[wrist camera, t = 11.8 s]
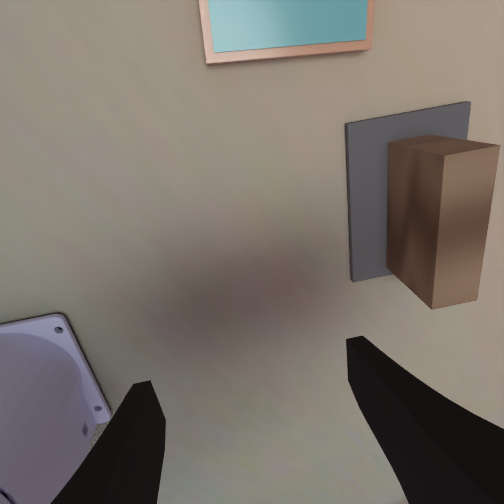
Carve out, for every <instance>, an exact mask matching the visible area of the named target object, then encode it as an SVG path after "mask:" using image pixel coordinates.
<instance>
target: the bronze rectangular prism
mask: <svg viewBox="0 0 504 504" xmlns="http://www.w3.org/2000/svg"><path fill="white" fill-rule="evenodd" d="M499 150H500V145H495V144H489V143H482V142H476V141H470V140H463V139H457V138H450V137H444V136H438V135H431V134H430V135H425V136H419V137H414V138H408V139H403V140H398V141H392V142H388V168H387V246H386V267H387V268H388V269H389V270H390V271H391V272H392V273H393V274H394V275H395V276H396V277H397V278H398V279H400V280H401V281H402V282H403V283H404V284H405V285H406V286H407V287H408V288H409V289H410V290H411V291H412V292H413V293H415V294H416V295H417V296H418V297H419V298H420V299H421V300H422V301H423V302H424V303H425V304H426V305H427V306H428V307H430V308H431V309H432V310H433V309H437V308H442V307H447V306H452V305H456V304H461V303H466V302H471V301H476V300H477V297H478V290H479V283H480V277H481V270H482V263H483V257H484V250H485V243H486V237H487V230H488V223H489V217H490V210H491V203H492V197H493V190H494V183H495V177H496V170H497V163H498V157H499Z"/></svg>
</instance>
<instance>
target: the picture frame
mask: <svg viewBox="0 0 504 504" xmlns="http://www.w3.org/2000/svg"><path fill="white" fill-rule="evenodd" d="M374 3H375V0H199V8H200V16H201V24H202V32H203V40H204V48H205V56H206V64H207V65H216V64H228V63H239V62H250V61H262V60H273V59H284V58H296V57H307V56H318V55H330V54H341V53H352V52H363V51H366V50H370V49H372V39H373V21H374Z"/></svg>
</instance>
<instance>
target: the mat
mask: <svg viewBox="0 0 504 504" xmlns="http://www.w3.org/2000/svg"><path fill="white" fill-rule="evenodd" d="M470 106H471V102H460V103H455V104H449V105H444V106H438V107H433V108H427V109H422V110H416V111H411V112H405V113H400V114H394V115H389V116H383V117H378V118H372V119H367V120H361V121H356V122H350V123H345V138H346V164H347V190H348V217H349V243H350V269H351V280H352V281H353V282H357V281H362V280H367V279H371V278H376V277H381V276H386V275H391V274H393V273H392V272H391V271H390V270H389V269H388V268H387V267H386V246H387V168H388V142H392V141H398V140H403V139H408V138H414V137H419V136H425V135H430V134H431V135H438V136H444V137H450V138H457V139H463V140H467V134H468V124H469V115H470Z"/></svg>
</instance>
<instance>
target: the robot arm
mask: <svg viewBox="0 0 504 504" xmlns="http://www.w3.org/2000/svg"><path fill="white" fill-rule="evenodd" d="M57 327H61V328H62V329H63V330H60V329H58V328H57ZM346 346H347V367H348V381H349V384H350V386H351V389H352V391H353V394H354V396H355V398H356V401H357V403H358V406H359V408H360V410H361V411H362V413H363V415H364V417H365V419H366V421H367V423H368V424H369V426H370V428H371V430H372V432H373V434H374V435H375V437H376V439H377V441H378V443H379V444H380V446H381V448H382V450H383V452H384V454H385V455H386V457H387V459H388V461H389V463H390V464H391V466H392V468H393V470H394V472H395V474H396V476H397V478H398V480H399V482H400V484H401V487H402V489H403V491H404V494H405V496H406V498H407V500H408V503H409V504H504V429H503V428H501V427H499V426H497V425H495V424H493V423H491V422H489V421H487V420H485V419H483V418H481V417H479V416H477V415H475V414H473V413H471V412H470V411H468V410H466V409H465V408H463V407H461V406H459V405H458V404H456V403H454V402H452V401H451V400H449V399H448V398H446V397H444V396H443V395H441V394H440V393H438V392H437V391H435V390H434V389H432V388H431V387H429V386H428V385H426V384H425V383H423V382H422V381H420V380H419V379H418V378H416V377H415V376H413V375H412V374H411V373H409V372H408V371H407V370H405V369H404V368H403V367H401V366H400V365H399V364H397V363H396V362H395V361H393V360H392V359H391V358H390V357H388V356H387V355H386V354H385V353H383V352H382V351H381V350H380V349H378V348H377V347H376V346H375V345H373V344H372V343H371V342H370V341H369V340H367V339H366V338H365V337H363V336H358V337H354V338H349V339H346ZM98 406H101V407H98ZM110 417H111V412H110V410H109V407H108V405H107V403H106V401H105V399H104V397H103V395H102V393H101V391H100V389H99V387H98V385H97V383H96V380H95V378H94V376H93V374H92V372H91V370H90V368H89V366H88V364H87V362H86V360H85V358H84V356H83V353H82V351H81V349H80V347H79V345H78V343H77V341H76V339H75V337H74V335H73V333H72V331H71V328H70V326H69V324H68V322H67V320H66V318H65V317H64V316H63V315H61V314H51V315H46V316H41V317H36V318H31V319H26V320H21V321H16V322H11V323H6V324H1V325H0V504H157V498H158V491H159V485H160V478H161V472H162V465H163V458H164V451H165V428H166V419H165V417H164V414H163V412H162V409H161V406H160V404H159V401H158V399H157V396H156V393H155V391H154V388H153V386H152V383H151V381H145V382H141V383H136V384H133V385H132V387H131V388H130V390H129V392H128V393H127V395H126V396H125V398H124V400H123V401H122V403H121V405H120V406H119V408H118V409H117V411H116V413H115V414H114V416H113V417H112V419H111V421H110V422H109V424H108V425H107V427H106V428H105V430H104V431H103V433H102V434H101V436H100V438H99V439H98V441H97V442H96V444H95V445H94V446H93V448H92V449H91V451H90V452H89V454H88V455H87V452H88V449H89V446H90V443H91V440H92V437H93V435H94V432H95V429H96V426H97V424H100V423H105V422H108V421H109V420H110ZM86 455H87V456H86Z"/></svg>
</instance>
